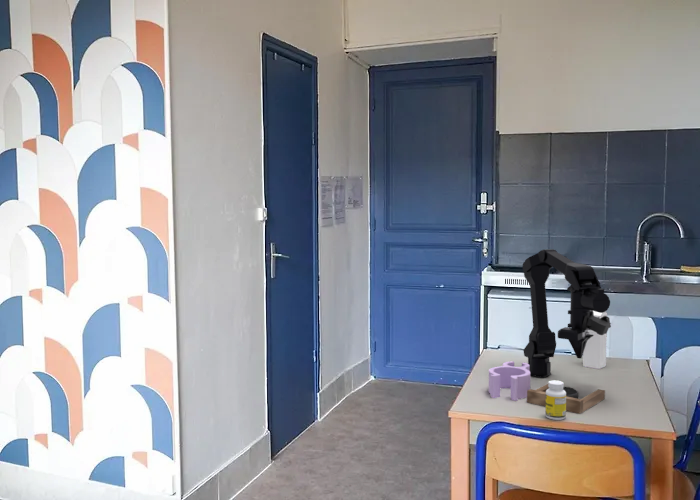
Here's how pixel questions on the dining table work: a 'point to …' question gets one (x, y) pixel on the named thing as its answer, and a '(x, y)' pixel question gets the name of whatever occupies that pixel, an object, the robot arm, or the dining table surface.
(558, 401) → the supplement bottle
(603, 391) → the wooden tray
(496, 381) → the clip
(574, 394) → the smart speaker
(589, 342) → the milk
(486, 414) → the dining table surface
